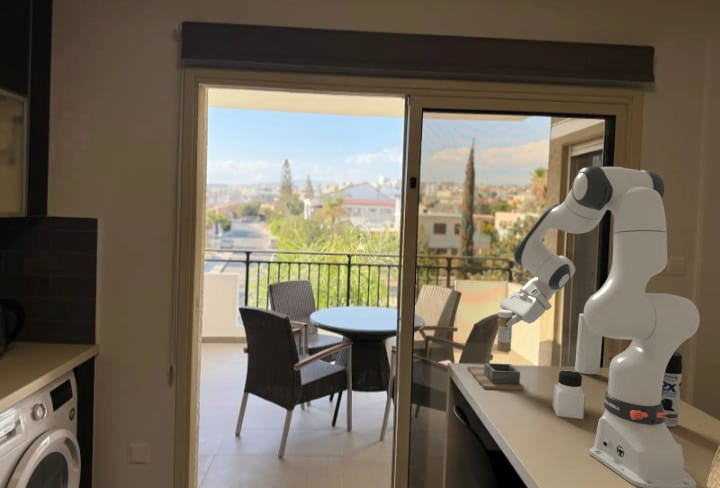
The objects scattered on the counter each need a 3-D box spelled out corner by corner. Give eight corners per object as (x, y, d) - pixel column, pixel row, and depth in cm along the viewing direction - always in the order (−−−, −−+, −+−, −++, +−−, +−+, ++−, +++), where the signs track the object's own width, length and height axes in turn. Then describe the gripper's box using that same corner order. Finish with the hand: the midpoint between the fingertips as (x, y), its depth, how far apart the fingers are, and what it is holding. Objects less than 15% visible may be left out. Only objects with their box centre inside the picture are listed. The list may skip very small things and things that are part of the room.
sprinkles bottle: (502, 347, 171) (503, 308, 170) (513, 351, 167) (515, 311, 166) (494, 350, 168) (495, 310, 167) (505, 353, 164) (507, 312, 163)
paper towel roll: (571, 370, 186) (575, 313, 185) (582, 368, 189) (587, 312, 187) (587, 376, 179) (592, 317, 178) (599, 374, 182) (603, 316, 181)
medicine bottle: (583, 419, 140) (587, 377, 139) (556, 416, 141) (559, 374, 140) (578, 410, 147) (581, 369, 146) (552, 407, 148) (555, 367, 147)
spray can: (650, 424, 139) (656, 353, 137) (649, 416, 145) (655, 347, 143) (678, 430, 136) (685, 357, 134) (676, 421, 142) (682, 351, 140)
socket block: (523, 390, 161) (524, 374, 161) (483, 388, 161) (484, 373, 160) (502, 370, 181) (503, 356, 181) (467, 369, 181) (468, 355, 180)
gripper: (514, 284, 177) (485, 310, 177) (542, 293, 157) (510, 323, 156) (525, 296, 178) (497, 323, 178) (554, 308, 158) (522, 338, 157)
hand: (503, 323), depth 167 cm, fingers closed on sprinkles bottle, 4 cm apart
